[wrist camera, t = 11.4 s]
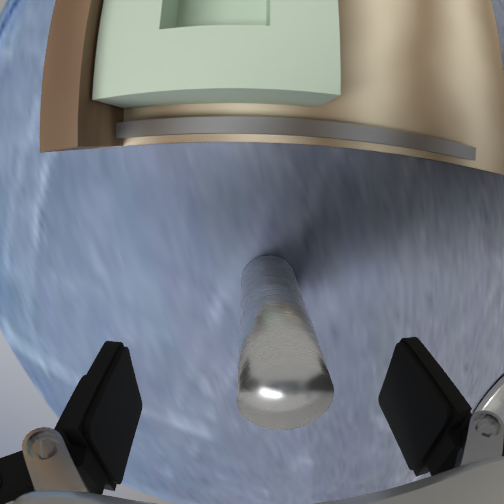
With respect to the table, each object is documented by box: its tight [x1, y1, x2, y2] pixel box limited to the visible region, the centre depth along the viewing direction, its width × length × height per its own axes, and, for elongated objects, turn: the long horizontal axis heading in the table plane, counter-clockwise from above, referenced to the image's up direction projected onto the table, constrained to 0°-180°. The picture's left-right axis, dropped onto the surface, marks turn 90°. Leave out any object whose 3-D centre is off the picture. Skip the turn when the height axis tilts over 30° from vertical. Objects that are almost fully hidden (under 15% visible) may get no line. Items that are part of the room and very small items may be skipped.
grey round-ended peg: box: [237, 255, 334, 430], centre depth 14 cm, size 3×3×10 cm
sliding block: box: [92, 0, 341, 109], centre depth 11 cm, size 10×10×4 cm
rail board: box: [40, 0, 504, 175], centre depth 11 cm, size 26×14×6 cm, turn 89°
